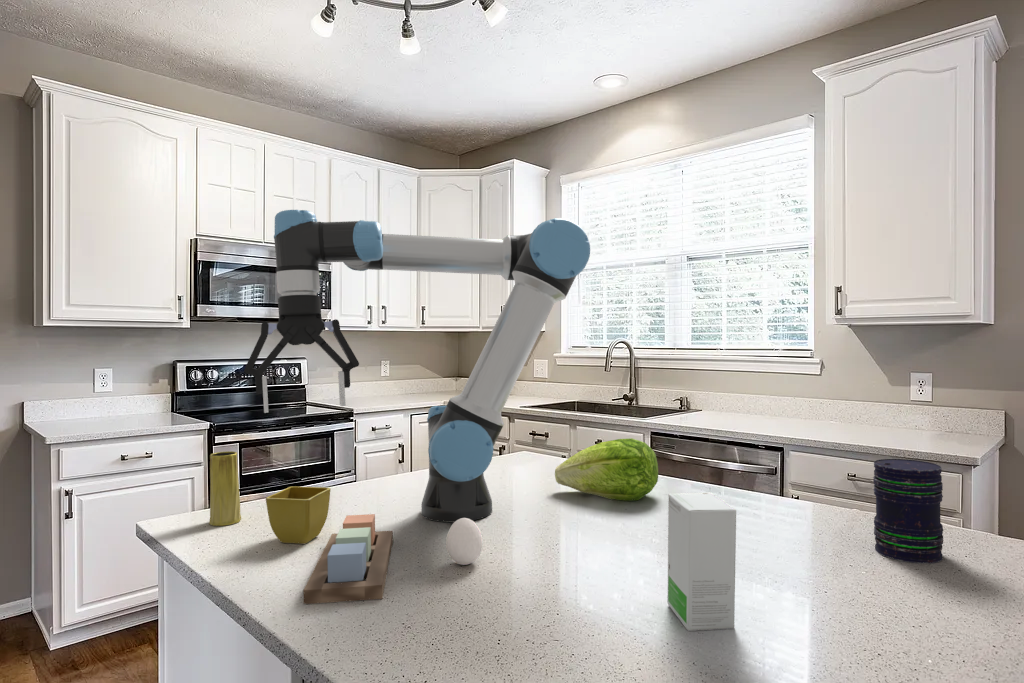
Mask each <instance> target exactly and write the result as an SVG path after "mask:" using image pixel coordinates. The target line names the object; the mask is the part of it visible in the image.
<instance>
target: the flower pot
mask: <svg viewBox="0 0 1024 683" xmlns="http://www.w3.org/2000/svg"><path fill="white" fill-rule="evenodd" d="M330 498H331V487H319V486H315V487H313V486H296V485H295V486H288V487H287V488H284V489H283V490H280V491H278V492H276V493H273V494H272V495H271V494H270V495H269V496H267V497H265V503H266V504H265V505H266V510H267V516H268V521H269V524H270V528H271V530H272V532H273V533H274V535H275V537H276V538H277V539H278V540H279V542H280V543H284V544H301V545H305V544H307V543H309V542H311V541H313V540H314V539H315V538H317V537H318V536H319V535H320V533H321V532H322V530H323V528H324V526H325V523H326V522H327V519H328V514H329V507H330Z"/></svg>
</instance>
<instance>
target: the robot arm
mask: <svg viewBox="0 0 1024 683" xmlns="http://www.w3.org/2000/svg"><path fill="white" fill-rule="evenodd" d="M273 239H274V248H275V249H274V251H275V252H274V253H275V265H276V286H277V288H276V289H277V290H276V291H277V293H278V294H279V295H280V296H279V297H278V298H277V305H278V307H277V308H278V321H277V323H273V322H272V323H271V322H269V323H268V322H267V321H263V322H262V323H261V328H260V336H259V338H258V340H257V342H256V343H255V346H254V348H253V350H252V352H251V354H250V356H249V359H248V360H247V363H246V365H245V367H244V370H243V371H244V373H245V374H247V375H251V376H253V377H254V379H255V380H254V381H255V392H256V395H262V398H263V413H264V414H266V413H269V411H270V410H269V398H268V396H269V395H268V376H267V375H263V374H264V373H265V372H266V371H267V369H268V368H269V367H270V366H271V364H272V363H273V362H274V361H275V359H276V358H277V357H278V356H279V355H280V353H281V352H282V351H283V350H284V348H285V347H286V346H287V345H292V346H299V345H308V346H309V345H313V344H317V346H318V347H320V349H321V350H323V351H324V352H325V353H326V355H328V357H330V359H331V360H332V361H333V362H334V363H335V364H336V365H338V367H340V369H341V370H340V371H337V372H338V373H337V375H338V377H337V378H338V394H339V395H338V396H339V397H338V398H339V406H341V407H346V406H347V405H346V390H345V389H347V388H348V389H349V388H350V386H351V370H353V369H355V368H356V367H359V366H360V362H359V360H358V359H357V357H356V354H355V353H354V351H353V350H352V348H351V346H350V345H349V343H348V341H347V339H346V338H345V336H344V335H343V333H342V331H341V327H340V321H339V320H338V319H336V318H335V319H333V320H329V321H327V320H326V321H324V320H323V318H322V309H321V308H322V305H321V303H322V302H321V297H320V296H319V295H318V294H319V293H320V292H321V285H320V268H319V264H320V263H343V264H344V265H345V266H346V267H347V268H348V269H350V270H352V271H358V272H364V271H367V270H375V271H381V270H384V271H401V272H403V271H405V272H426V273H427V272H430V273H446V274H447V273H448V274H449V273H450V274H453V273H454V274H467V275H468V274H471V275H472V274H473V275H492V276H493V275H494V276H502V278H503V279H504V280H505V281H514V285H513V287H512V289H511V292H510V294H509V296H508V298H507V299H506V301H505V304H504V306H503V308H502V310H501V312H500V314H499V316H498V318H497V320H496V322H495V324H494V326H493V328H492V329H491V332H490V334H489V336H488V338H487V341H486V343H485V344H484V347H483V348H482V350H481V352H480V355H479V356H478V359H477V360H476V363H475V365H474V366H473V368H472V370H471V373H470V375H469V377H468V379H467V381H466V383H465V385H464V387H463V389H462V391H461V393H460V394H458V395H455V396H452V397H450V398H449V400H448V401H447V404H446V405H434V406H431V407H430V408H429V409H428V414H427V419H426V422H427V426H428V428H427V429H428V430H427V432H428V436H427V438H428V439H427V440H428V448H427V449H428V450H427V452H428V481H427V484H426V488H425V490H424V494H423V497H422V501H421V507H420V508H421V509H420V510H421V515H422V516H421V517H423V518H424V519H428V520H430V521H435V522H443V523H454V522H455V521H457V520H458V519H460V518H468V519H470V520H472V521H475V520H480V519H483V518H486V517H488V516H490V515H491V514H492V513H493V500H492V497H491V494H490V491H489V488H488V485H487V482H486V479H485V476H484V474H485V472H486V471H487V469H488V468H489V466H490V465H491V462H492V459H493V456H494V446H495V444H496V442H497V440H498V437H499V436H500V434H501V432H502V429H503V428H504V425H505V424H504V420H503V418H502V411H503V409H504V407H505V405H506V404H507V402H508V399H509V397H510V395H511V393H512V391H513V389H514V387H515V385H516V382H517V381H518V379H519V377H520V375H521V373H522V371H523V368H524V366H525V364H526V362H527V361H528V359H529V357H530V355H531V352H532V350H533V348H534V346H535V344H536V341H537V339H538V337H539V335H540V334H541V332H542V330H543V327H544V325H545V323H546V322H547V319H548V317H549V315H550V313H551V311H552V309H553V308H554V305H555V304H556V303H558V302H560V301H564V300H565V299H566V297H567V295H568V294H569V291H570V290H571V288H572V285H573V284H574V281H575V279H576V277H577V276H578V275H579V274H580V273H582V272H583V270H584V269H585V268H586V266H587V264H588V262H589V260H590V256H591V244H590V241H589V237H588V236H587V233H586V232H585V230H584V229H583V228H582V227H581V226H580V225H579V224H577V223H576V222H575V221H572V220H570V219H568V218H564V217H563V218H562V217H559V218H557V217H555V218H550V219H548V220H545V221H542V222H540V223H539V224H538V225H537V226H536V227H535V228H534V229H533V231H532V232H531V233H527V234H521V235H510V234H508V235H506V236H505V237H504V238H503V239H495V238H492V239H491V238H473V237H472V238H471V237H455V236H454V237H452V236H434V235H433V236H432V235H411V234H410V235H409V234H395V233H394V234H391V233H390V234H389V233H383V232H382V226H381V224H380V222H377V221H376V220H375V221H373V220H364V219H362V220H361V219H360V220H354V221H353V220H352V221H351V220H350V221H324V222H323V221H318V219H317V216H316V214H315V213H314V212H313V211H310V210H306V209H302V210H301V209H285V210H280V211H279V212H278V213H276V214H275V216H274V235H273ZM325 328H327V330H328V331H329V332H331V333H333V336H334V337H335V340H336V341H337V343H338V345H339V346H340V348H341V349H342V351H343V353H344V355H345V357H346V358H347V360H348V362H347V361H345V360H344V359H343V358H342V357H341V356H340V355H339V354H338V353H337V351H335V350H334V348H333V347H331V346H330V344H328V343H327V342H326V340H325V339H324V338H323V337H322V336H321V334H322V332H323V330H324V329H325ZM275 330H277V332H278V333H279V334H280V335H281V337H282V338H281V339H280V341H279V342H278V343H277V345H275V347H274V348H273V349H272V350H271V352H270V353H269V354H268V356H267V357H266V358H265V359H264V360H263V362H262V363H261V364H260V365H259V367H258V368H254V366H255V365H256V362H257V360H258V358H259V355H260V353H261V351H262V349H263V347H264V345H265V343H266V340H267V338H268V335H272V334H273V332H274V331H275Z"/></svg>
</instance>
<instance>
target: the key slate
mask: <svg viewBox="0 0 1024 683" xmlns="http://www.w3.org/2000/svg"><path fill="white" fill-rule="evenodd" d="M327 557H328V583H341V582H356V581H364V579H363V578H364V575H365V571H366V543H349V544H333V545H332V547H331V549H330V551H329V553H328V555H327Z"/></svg>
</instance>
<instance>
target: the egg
mask: <svg viewBox="0 0 1024 683" xmlns="http://www.w3.org/2000/svg"><path fill="white" fill-rule="evenodd" d="M482 535H483V534H482V532H481V530H480V528H479V526H478V524H476V522H475V520H470V519H468V518H460V519H458V520H457V521H455V522H452V524H451V526H450V528H449V530H448V532H447V534H446V539H445V546H446V548H445V549H446V552H447V553H448V556H449V557H450V559H451V560H452V561H453V562H455V563H456V564H458V565H461V566H468V565H471V564H472V563H473V562H475V561H476V560H478V558H479V556H480V555H481V553H482V550H483V544H484V543H483V536H482Z"/></svg>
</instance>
